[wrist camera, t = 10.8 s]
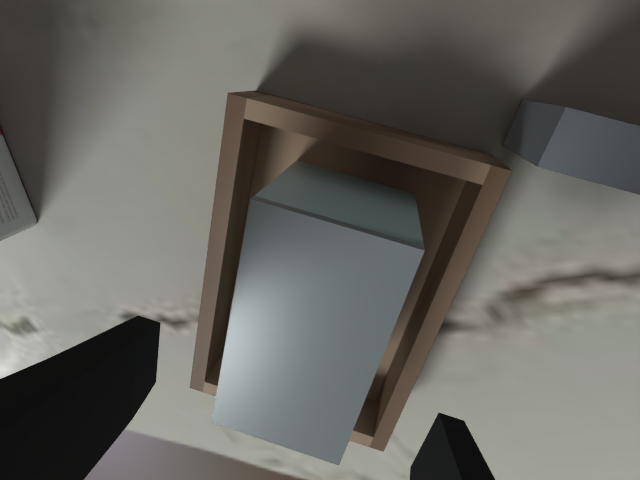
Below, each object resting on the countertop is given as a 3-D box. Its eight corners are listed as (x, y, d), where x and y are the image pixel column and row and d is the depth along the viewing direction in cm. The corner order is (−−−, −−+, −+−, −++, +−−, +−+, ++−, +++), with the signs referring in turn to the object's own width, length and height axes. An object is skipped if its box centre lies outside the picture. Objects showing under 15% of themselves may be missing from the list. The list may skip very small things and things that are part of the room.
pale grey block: (414, 193, 14) (424, 250, 9) (353, 362, 17) (339, 465, 13) (296, 160, 14) (250, 198, 10) (259, 332, 17) (211, 422, 13)
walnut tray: (492, 155, 13) (512, 170, 11) (384, 405, 18) (383, 451, 16) (255, 90, 14) (227, 93, 12) (214, 350, 19) (189, 387, 17)
